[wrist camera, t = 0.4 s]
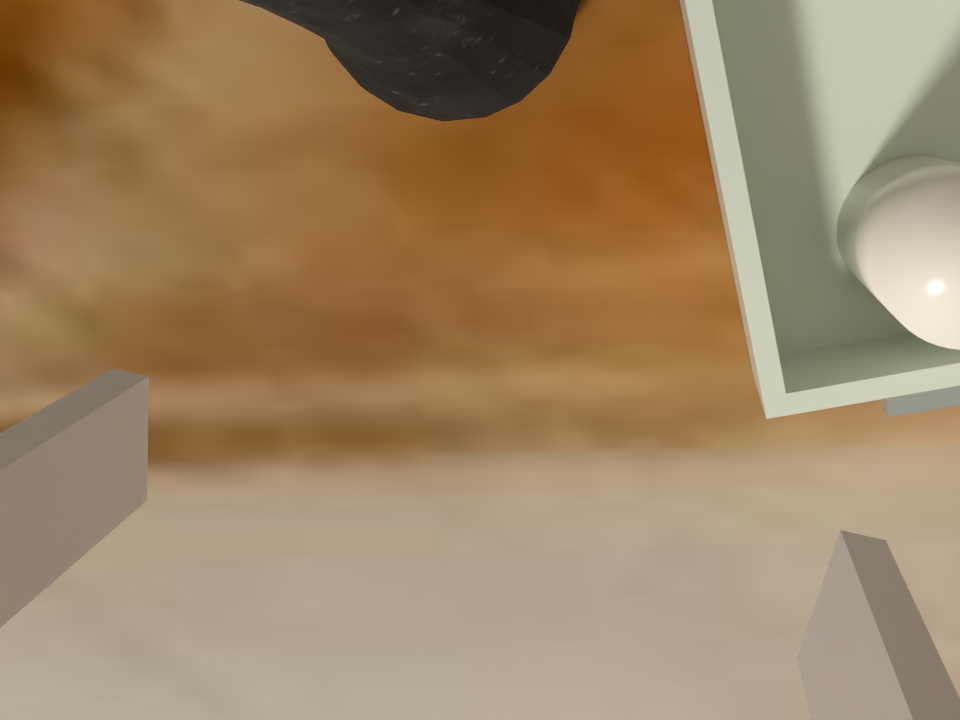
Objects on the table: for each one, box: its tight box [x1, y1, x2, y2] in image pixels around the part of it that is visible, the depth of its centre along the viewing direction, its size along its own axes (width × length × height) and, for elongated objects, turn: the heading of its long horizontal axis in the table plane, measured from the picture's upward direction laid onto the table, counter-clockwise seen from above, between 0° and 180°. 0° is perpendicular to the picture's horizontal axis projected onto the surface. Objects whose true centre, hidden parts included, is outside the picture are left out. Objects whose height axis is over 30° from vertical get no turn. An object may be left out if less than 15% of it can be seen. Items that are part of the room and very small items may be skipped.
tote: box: [679, 0, 960, 419], centre depth 36 cm, size 32×16×6 cm, turn 16°
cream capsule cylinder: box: [836, 155, 960, 350], centre depth 36 cm, size 6×6×9 cm
